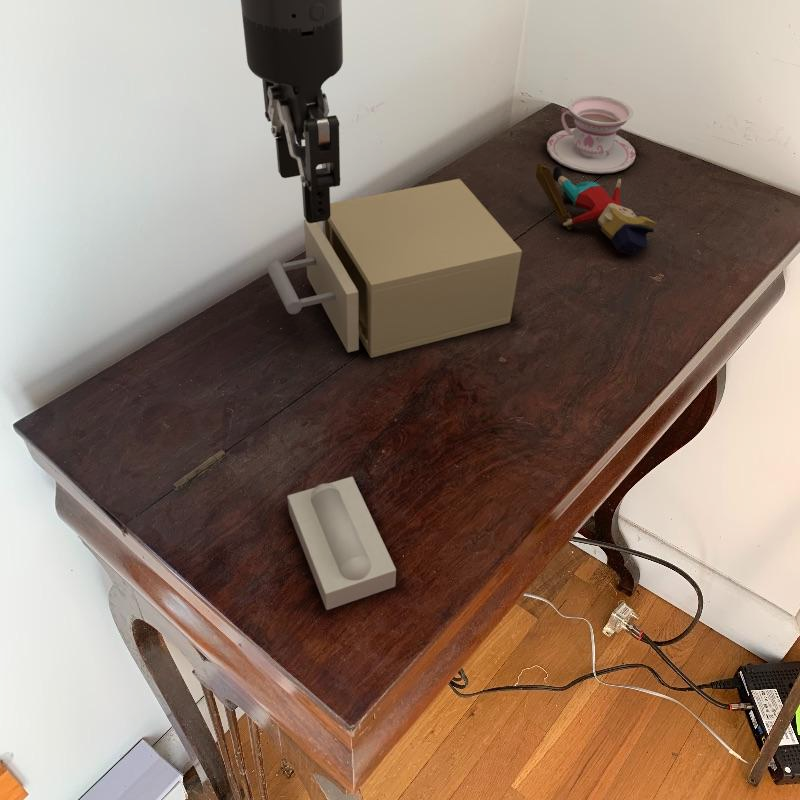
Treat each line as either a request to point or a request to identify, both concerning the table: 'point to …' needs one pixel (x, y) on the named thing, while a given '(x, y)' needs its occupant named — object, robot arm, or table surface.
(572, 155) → the teacup
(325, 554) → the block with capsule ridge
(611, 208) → the toy
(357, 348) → the drawer
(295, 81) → the robot arm
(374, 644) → the table surface
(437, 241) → the cabinet
